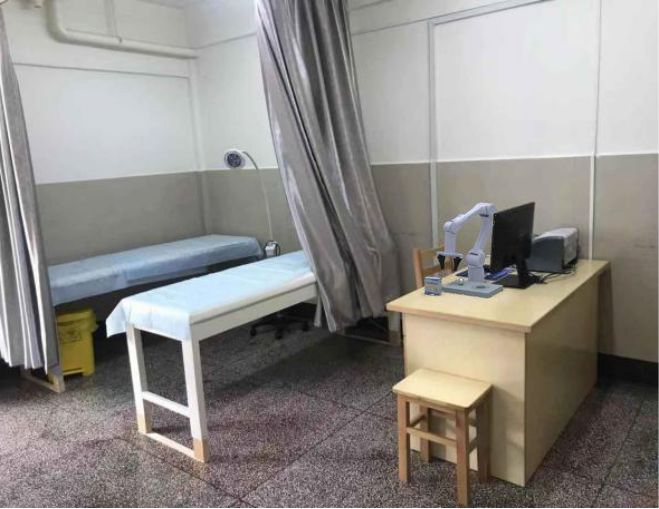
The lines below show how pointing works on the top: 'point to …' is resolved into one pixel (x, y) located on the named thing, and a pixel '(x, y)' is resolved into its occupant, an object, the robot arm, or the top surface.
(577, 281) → the top surface
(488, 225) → the robot arm
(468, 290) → the deck
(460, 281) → the ball
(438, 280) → the medicine box
